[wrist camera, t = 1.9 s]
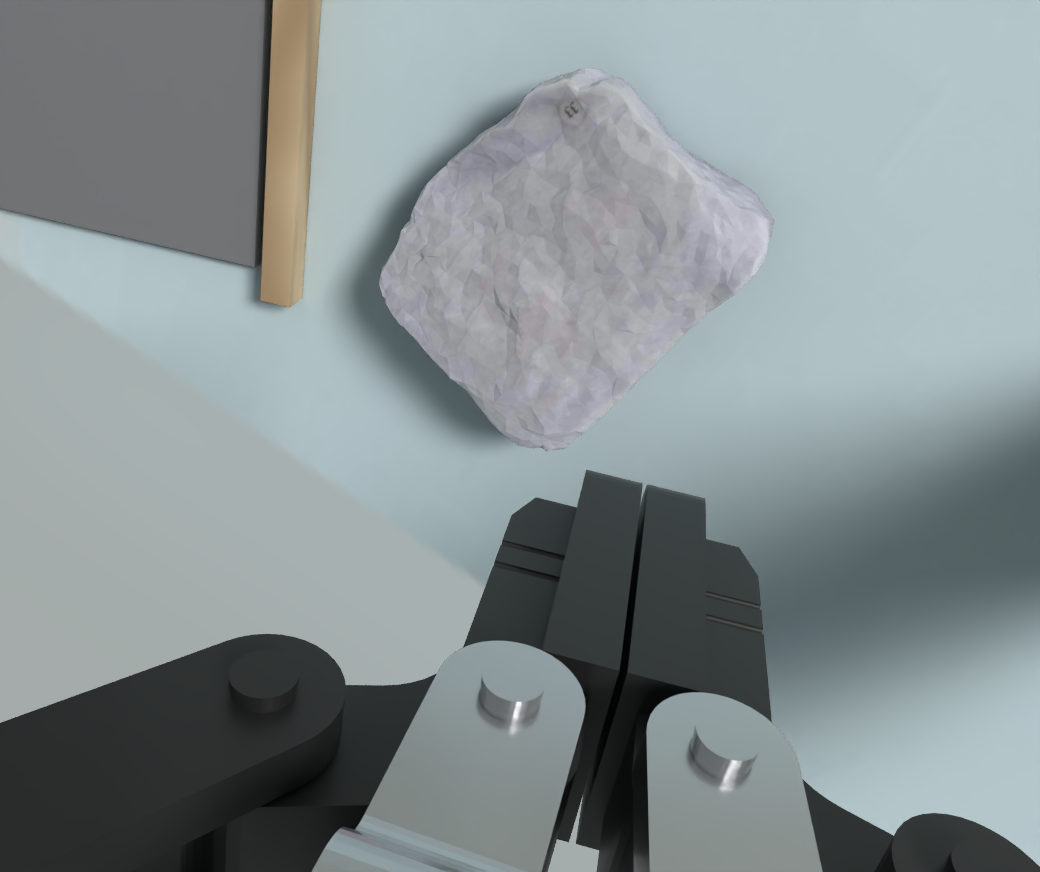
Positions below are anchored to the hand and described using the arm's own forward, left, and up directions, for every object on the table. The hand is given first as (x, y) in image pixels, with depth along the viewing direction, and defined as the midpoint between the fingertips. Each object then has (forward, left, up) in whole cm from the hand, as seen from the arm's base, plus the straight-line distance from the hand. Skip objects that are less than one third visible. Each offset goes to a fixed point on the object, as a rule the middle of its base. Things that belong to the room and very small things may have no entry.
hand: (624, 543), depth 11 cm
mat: (+20, 0, -23) cm, 31 cm away
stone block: (+8, 0, -22) cm, 23 cm away
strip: (+14, 0, -23) cm, 27 cm away
